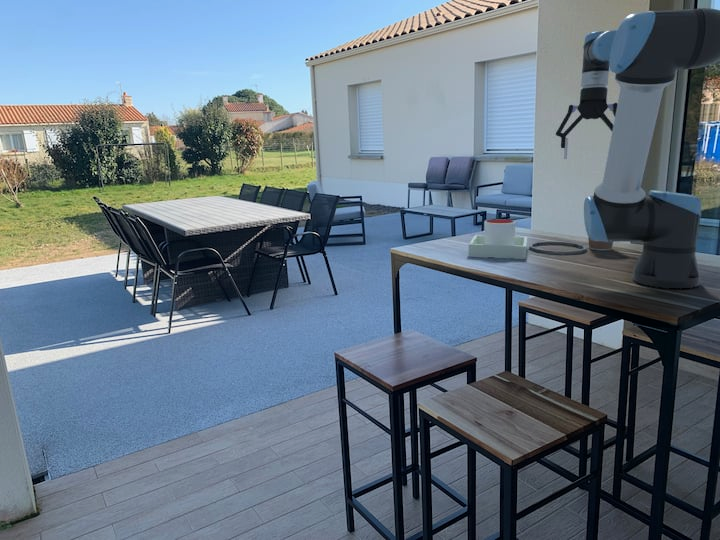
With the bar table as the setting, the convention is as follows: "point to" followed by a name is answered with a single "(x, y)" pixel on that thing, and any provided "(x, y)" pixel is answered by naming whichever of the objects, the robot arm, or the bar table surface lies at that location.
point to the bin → (498, 248)
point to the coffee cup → (600, 245)
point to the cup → (499, 232)
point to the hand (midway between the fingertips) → (588, 158)
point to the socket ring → (582, 250)
